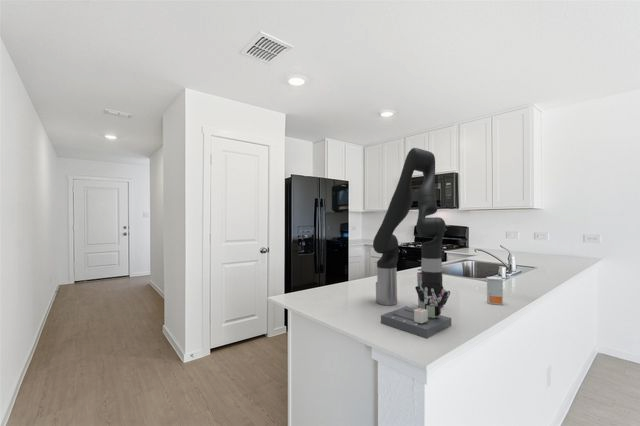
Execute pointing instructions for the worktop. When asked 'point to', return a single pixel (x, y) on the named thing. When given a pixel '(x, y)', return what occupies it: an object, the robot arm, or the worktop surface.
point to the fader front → (420, 315)
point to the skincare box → (495, 290)
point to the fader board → (406, 322)
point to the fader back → (431, 310)
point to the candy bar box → (422, 304)
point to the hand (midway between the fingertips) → (432, 314)
